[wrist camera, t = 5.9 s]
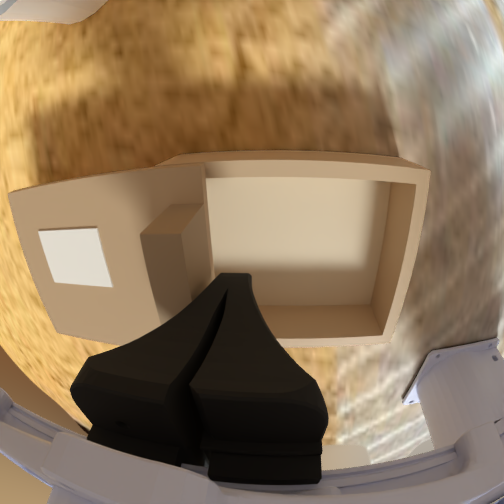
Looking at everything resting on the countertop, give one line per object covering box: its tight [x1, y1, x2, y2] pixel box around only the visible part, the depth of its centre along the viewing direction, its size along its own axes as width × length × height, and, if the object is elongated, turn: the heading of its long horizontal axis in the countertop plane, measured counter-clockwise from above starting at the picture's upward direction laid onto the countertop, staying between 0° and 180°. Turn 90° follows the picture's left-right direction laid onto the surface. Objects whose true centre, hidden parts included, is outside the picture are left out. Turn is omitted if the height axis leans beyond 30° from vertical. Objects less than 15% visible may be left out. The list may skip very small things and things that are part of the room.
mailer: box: [154, 150, 431, 348], centre depth 15 cm, size 12×10×4 cm
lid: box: [8, 163, 215, 346], centre depth 12 cm, size 12×10×4 cm
